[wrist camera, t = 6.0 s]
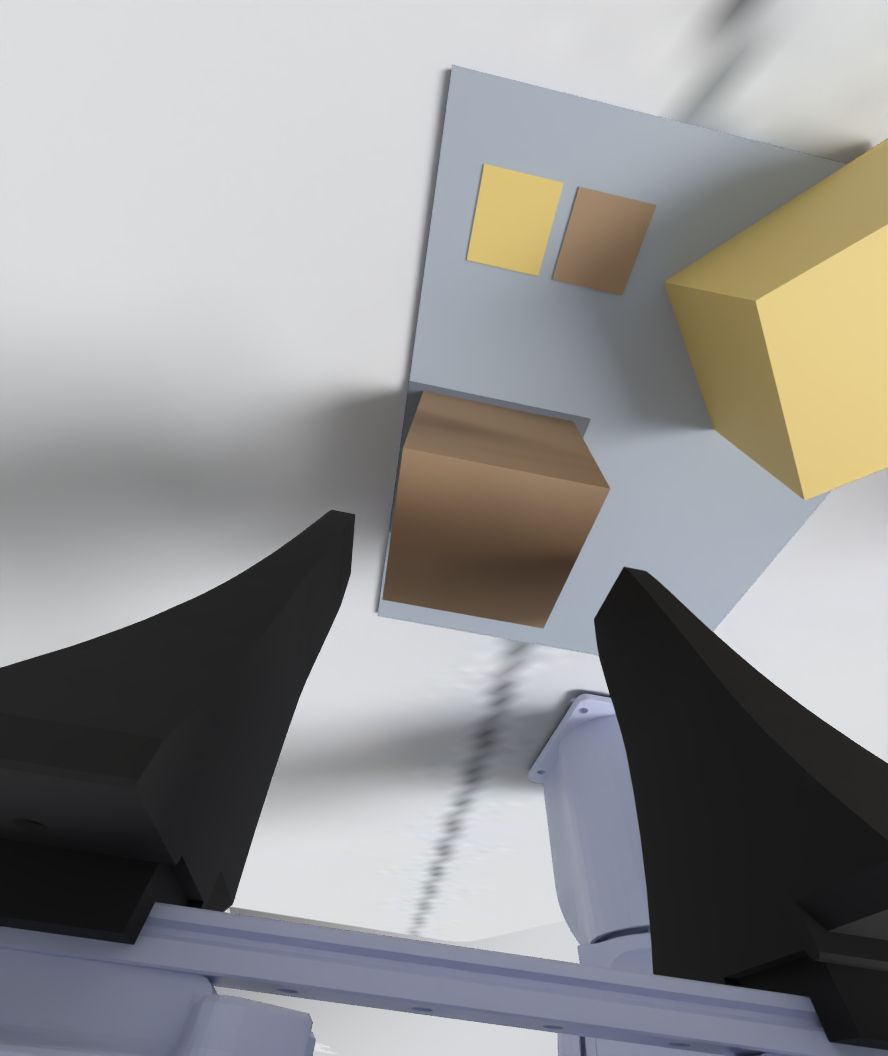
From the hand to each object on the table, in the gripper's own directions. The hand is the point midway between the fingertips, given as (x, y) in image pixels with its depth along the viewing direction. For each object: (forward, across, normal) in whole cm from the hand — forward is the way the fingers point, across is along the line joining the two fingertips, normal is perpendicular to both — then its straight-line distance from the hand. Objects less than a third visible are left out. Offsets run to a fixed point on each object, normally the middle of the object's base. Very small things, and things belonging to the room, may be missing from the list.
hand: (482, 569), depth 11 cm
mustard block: (+5, -7, -7) cm, 11 cm away
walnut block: (+5, 0, 0) cm, 5 cm away
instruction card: (+5, -4, -1) cm, 7 cm away
